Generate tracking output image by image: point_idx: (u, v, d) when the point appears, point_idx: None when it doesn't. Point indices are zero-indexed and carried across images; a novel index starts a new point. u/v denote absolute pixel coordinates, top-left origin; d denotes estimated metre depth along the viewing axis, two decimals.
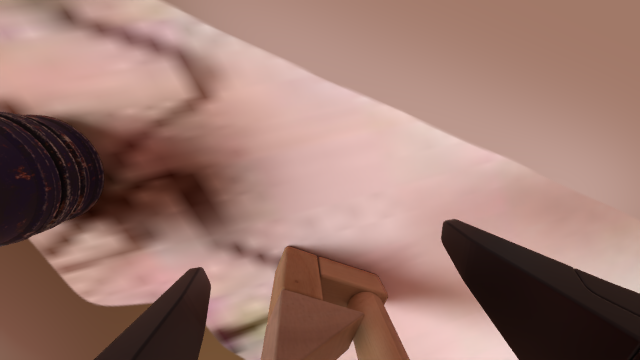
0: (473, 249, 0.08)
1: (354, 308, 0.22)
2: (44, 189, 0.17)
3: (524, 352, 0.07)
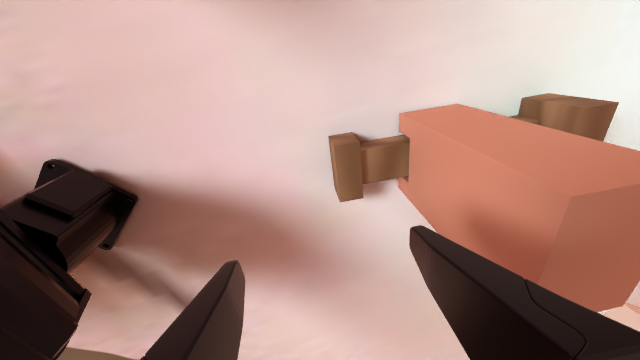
0: (434, 257, 0.07)
1: None
2: None
3: None
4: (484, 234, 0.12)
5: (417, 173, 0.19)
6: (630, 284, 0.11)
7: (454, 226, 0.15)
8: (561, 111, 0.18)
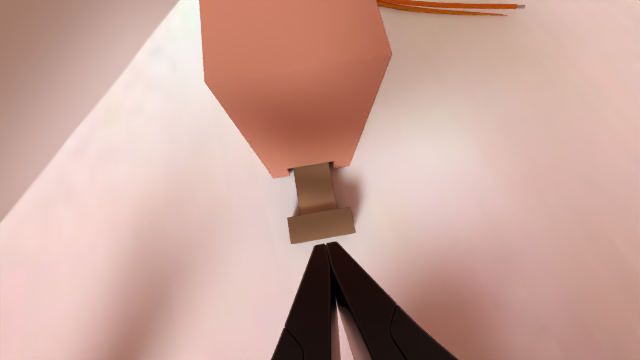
0: (333, 276, 0.07)
1: None
2: None
3: None
4: (315, 108, 0.12)
5: (314, 158, 0.19)
6: None
7: (336, 126, 0.14)
8: None
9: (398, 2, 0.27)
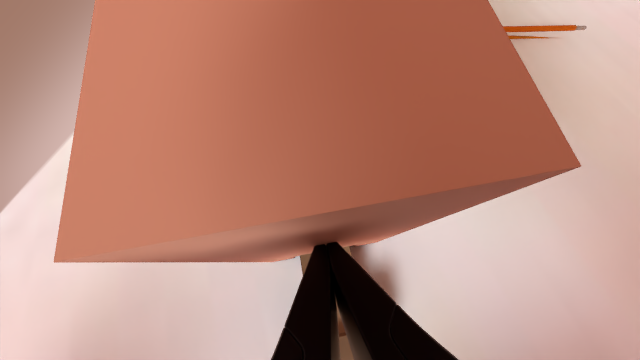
0: (333, 276, 0.07)
1: None
2: None
3: None
4: (347, 231, 0.06)
5: None
6: None
7: (375, 233, 0.08)
8: None
9: None
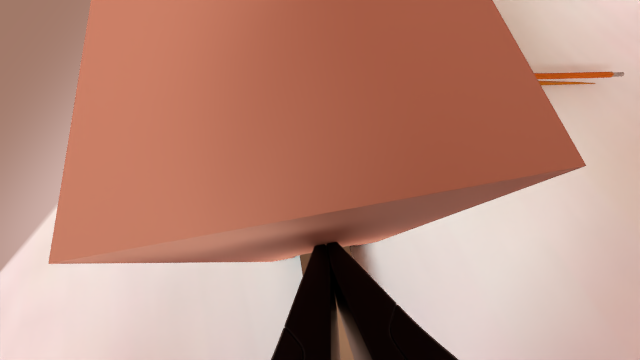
0: (333, 276, 0.07)
1: None
2: None
3: None
4: (347, 231, 0.06)
5: None
6: None
7: (376, 232, 0.08)
8: None
9: None
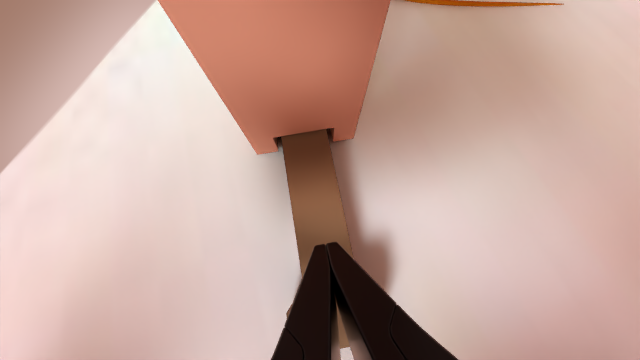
0: (333, 276, 0.07)
1: None
2: None
3: None
4: None
5: (307, 119, 0.14)
6: None
7: (335, 48, 0.10)
8: None
9: None
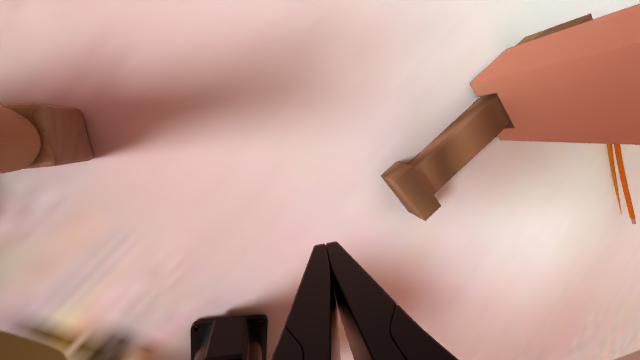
0: (333, 276, 0.07)
1: None
2: None
3: None
4: None
5: (524, 113, 0.21)
6: None
7: (605, 123, 0.17)
8: None
9: None
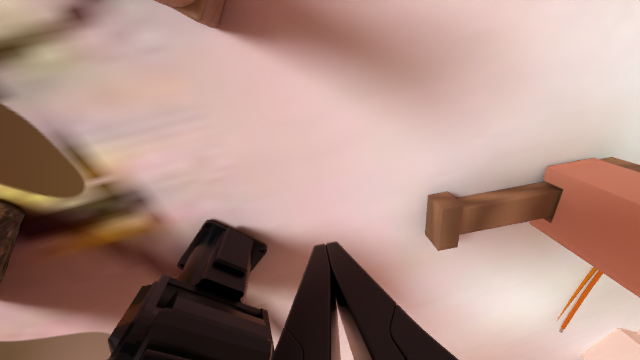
0: (333, 276, 0.07)
1: None
2: None
3: None
4: None
5: (571, 218, 0.23)
6: None
7: (629, 268, 0.19)
8: None
9: None
